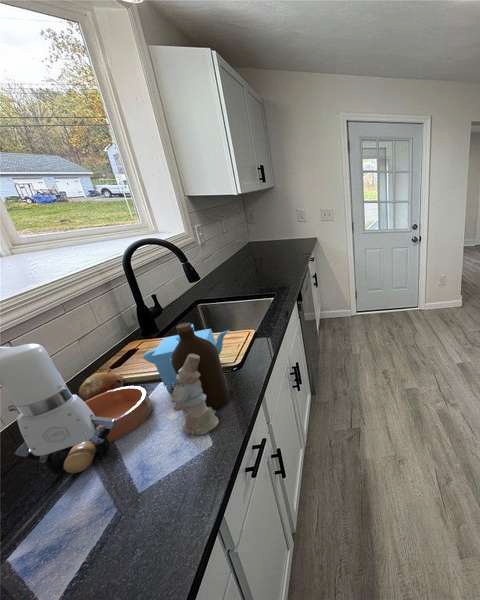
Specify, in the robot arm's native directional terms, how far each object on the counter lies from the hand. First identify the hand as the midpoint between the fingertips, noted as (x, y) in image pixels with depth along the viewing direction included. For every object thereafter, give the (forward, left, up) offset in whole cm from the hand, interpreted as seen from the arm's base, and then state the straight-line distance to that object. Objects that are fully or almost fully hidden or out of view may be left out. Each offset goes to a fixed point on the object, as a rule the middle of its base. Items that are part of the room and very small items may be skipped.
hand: (83, 460), depth 72 cm
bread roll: (-4, +33, -1) cm, 33 cm away
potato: (0, 0, -1) cm, 1 cm away
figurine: (+24, -1, -1) cm, 24 cm away
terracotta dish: (+2, +14, -1) cm, 14 cm away
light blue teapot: (+22, +27, -1) cm, 35 cm away
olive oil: (+26, +8, -1) cm, 27 cm away
